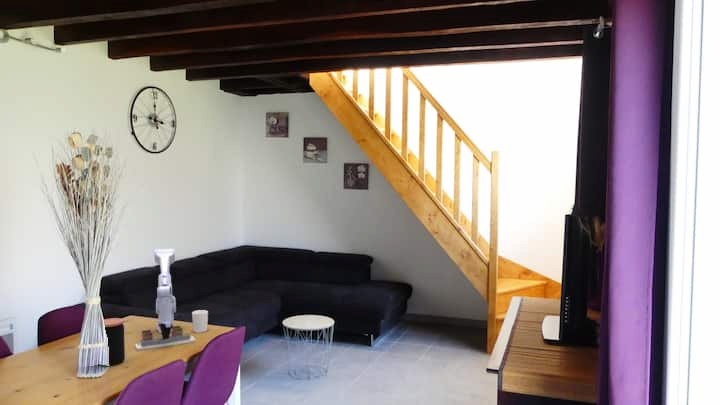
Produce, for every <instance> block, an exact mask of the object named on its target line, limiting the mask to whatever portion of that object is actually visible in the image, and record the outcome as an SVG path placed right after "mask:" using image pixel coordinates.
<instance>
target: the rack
mask: <svg viewBox="0 0 720 405" xmlns="http://www.w3.org/2000/svg"><path fill="white" fill-rule="evenodd" d="M183 332H184V331H183V327H181V325H180V324H179V325H174V326H172V331H171V335H169V337H171V336H178V335H184V334H183ZM153 333H154V332H153V331H152V330H151V329H146V330H141V339H140V342H141V341H145V340H152V339H158V338H163V337H162V336H159V337H154V336H153V335H154V334H153Z"/></svg>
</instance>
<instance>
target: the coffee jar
mask: <svg viewBox="0 0 720 405" xmlns="http://www.w3.org/2000/svg"><path fill="white" fill-rule="evenodd" d="M103 320H104V323H105V324H104V325H105V330H106V334H107V337H108V347H109V365H110V366H109V367H114V366H117V365H120V364H123V362H124V361H125V358H126V357H125V356H126V353H125V352H126V350H125V344H126V343H125V325H124V322H125V320H124V319H123V318H119V317H114V318H113V317H111V318H105V319H103Z"/></svg>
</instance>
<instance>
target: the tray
mask: <svg viewBox="0 0 720 405" xmlns="http://www.w3.org/2000/svg"><path fill="white" fill-rule="evenodd" d="M191 343H196V338H195V337H194V336H193V335H190V340H185V341H178V342H172V343H165V344H159V345H153V346H146V347H141V343H135V345H134V347H135V350H136V351H137V352H142V351H147V350H154V349H160V348H166V347H173V346H179V345H184V344H191Z"/></svg>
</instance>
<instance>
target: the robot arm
mask: <svg viewBox="0 0 720 405" xmlns="http://www.w3.org/2000/svg"><path fill="white" fill-rule="evenodd" d="M153 254H154V262H155V264H157V265H159V267H160V274H158V285H157V286H158V287H157V288H156V289H157V290H156V291H157V298H156V299H155V313H156V314H157V315H158V320H155V321H156V324H157V325H158V327H156V330H157V331H158V333H160V334H161V337H163V339H168V338H169V336H171V335H170V334H171V333H172V326H175V325H174V322H175V321H174V319H175V316H174V313H176V312H177V306H176V305H177V302H176V301H177V300H176V297H175V296H174V295H173V286H172V276H171V274H170V266H171V264H174V263H175V262H176V256H175V255H176V249H175V247H172V248H155V249H154V252H153Z"/></svg>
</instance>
